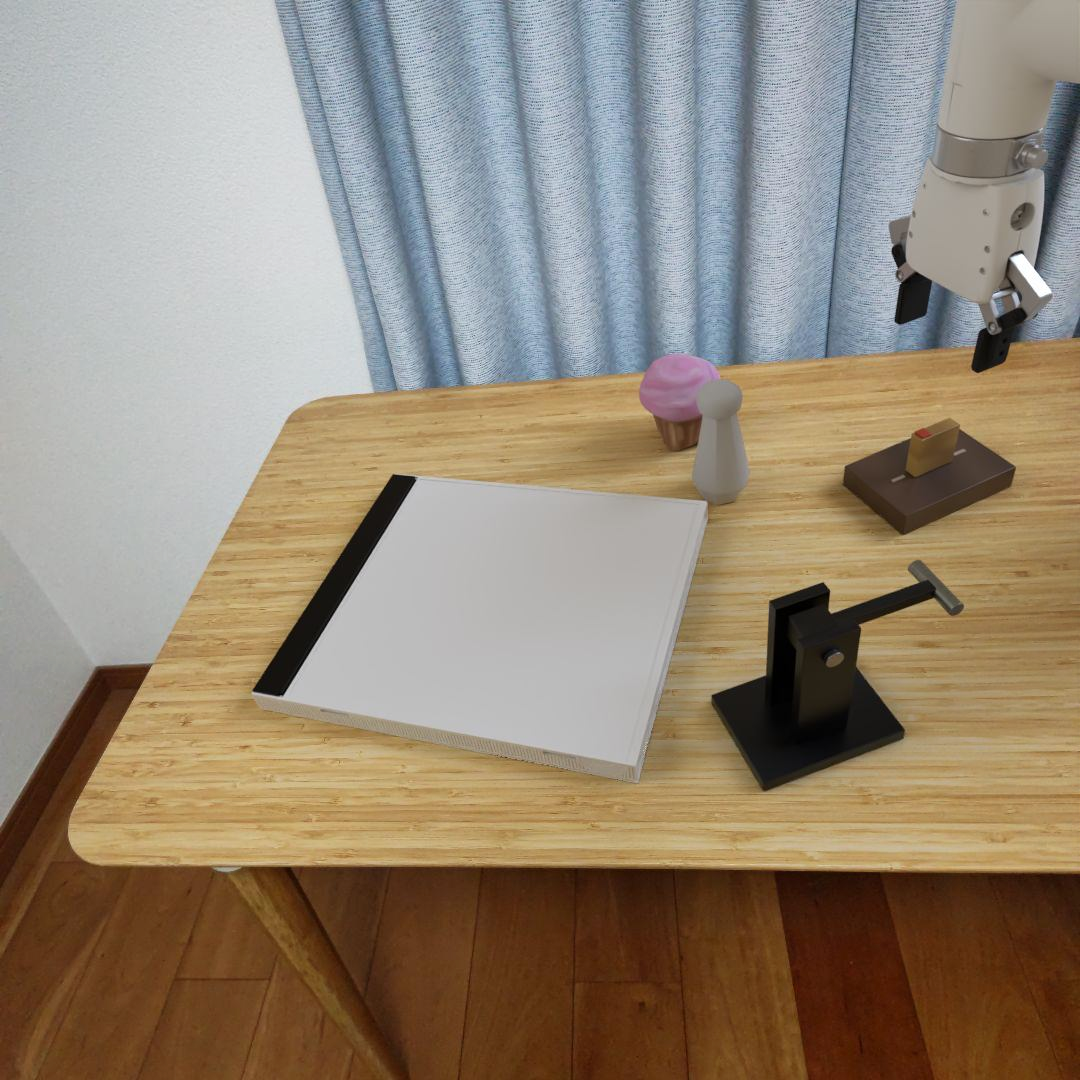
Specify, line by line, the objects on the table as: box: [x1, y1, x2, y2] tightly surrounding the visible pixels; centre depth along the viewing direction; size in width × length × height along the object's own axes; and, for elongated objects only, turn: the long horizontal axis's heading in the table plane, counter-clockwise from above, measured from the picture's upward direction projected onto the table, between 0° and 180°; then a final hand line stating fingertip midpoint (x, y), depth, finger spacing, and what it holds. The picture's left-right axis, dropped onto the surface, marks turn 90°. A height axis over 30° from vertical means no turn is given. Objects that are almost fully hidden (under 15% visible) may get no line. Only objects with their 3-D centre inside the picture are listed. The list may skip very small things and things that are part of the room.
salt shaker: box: [691, 378, 751, 506], centre depth 89 cm, size 6×6×13 cm
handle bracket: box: [710, 581, 906, 792], centre depth 68 cm, size 12×9×13 cm
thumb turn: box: [906, 417, 961, 477], centre depth 87 cm, size 4×1×5 cm, turn 114°
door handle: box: [787, 559, 965, 650], centre depth 65 cm, size 12×5×2 cm, turn 108°
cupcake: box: [638, 352, 722, 451], centre depth 98 cm, size 9×9×10 cm
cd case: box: [250, 473, 709, 784], centre depth 85 cm, size 35×2×31 cm
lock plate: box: [842, 428, 1017, 536], centre depth 89 cm, size 13×9×3 cm
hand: (947, 342), depth 80 cm, fingers open, 9 cm apart
